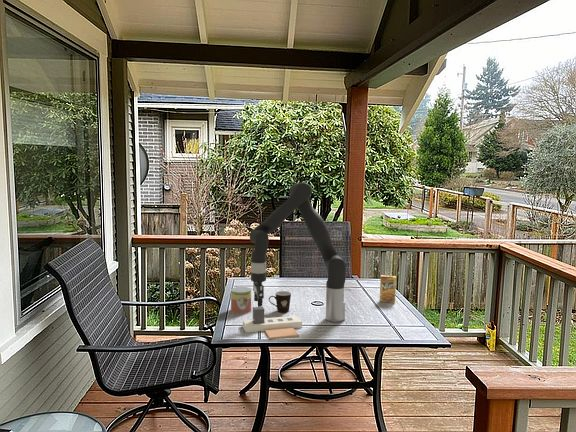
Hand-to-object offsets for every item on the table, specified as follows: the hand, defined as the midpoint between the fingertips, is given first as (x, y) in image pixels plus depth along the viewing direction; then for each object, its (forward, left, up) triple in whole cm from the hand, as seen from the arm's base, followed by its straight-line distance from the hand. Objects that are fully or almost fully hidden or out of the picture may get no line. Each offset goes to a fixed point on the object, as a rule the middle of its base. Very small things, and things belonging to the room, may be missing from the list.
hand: (258, 303), depth 219 cm
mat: (-9, +11, -12) cm, 19 cm away
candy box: (-83, -25, -13) cm, 88 cm away
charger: (0, 0, -12) cm, 12 cm away
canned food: (+4, -28, -13) cm, 31 cm away
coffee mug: (-17, -23, -13) cm, 31 cm away
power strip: (-7, 0, -12) cm, 14 cm away
